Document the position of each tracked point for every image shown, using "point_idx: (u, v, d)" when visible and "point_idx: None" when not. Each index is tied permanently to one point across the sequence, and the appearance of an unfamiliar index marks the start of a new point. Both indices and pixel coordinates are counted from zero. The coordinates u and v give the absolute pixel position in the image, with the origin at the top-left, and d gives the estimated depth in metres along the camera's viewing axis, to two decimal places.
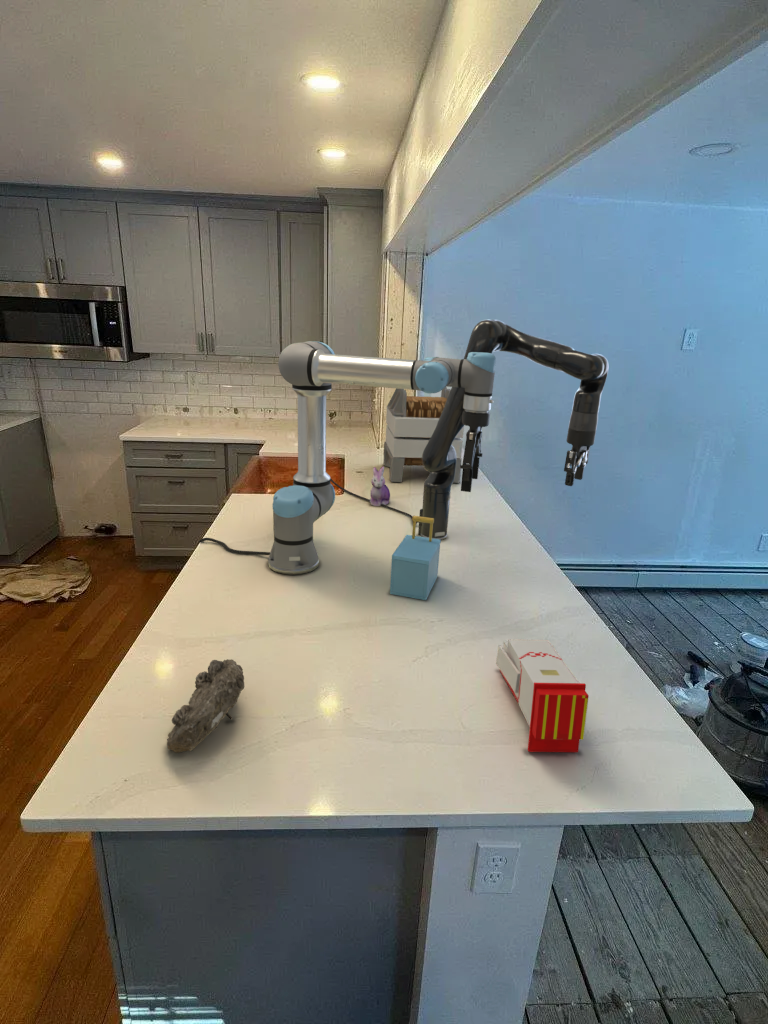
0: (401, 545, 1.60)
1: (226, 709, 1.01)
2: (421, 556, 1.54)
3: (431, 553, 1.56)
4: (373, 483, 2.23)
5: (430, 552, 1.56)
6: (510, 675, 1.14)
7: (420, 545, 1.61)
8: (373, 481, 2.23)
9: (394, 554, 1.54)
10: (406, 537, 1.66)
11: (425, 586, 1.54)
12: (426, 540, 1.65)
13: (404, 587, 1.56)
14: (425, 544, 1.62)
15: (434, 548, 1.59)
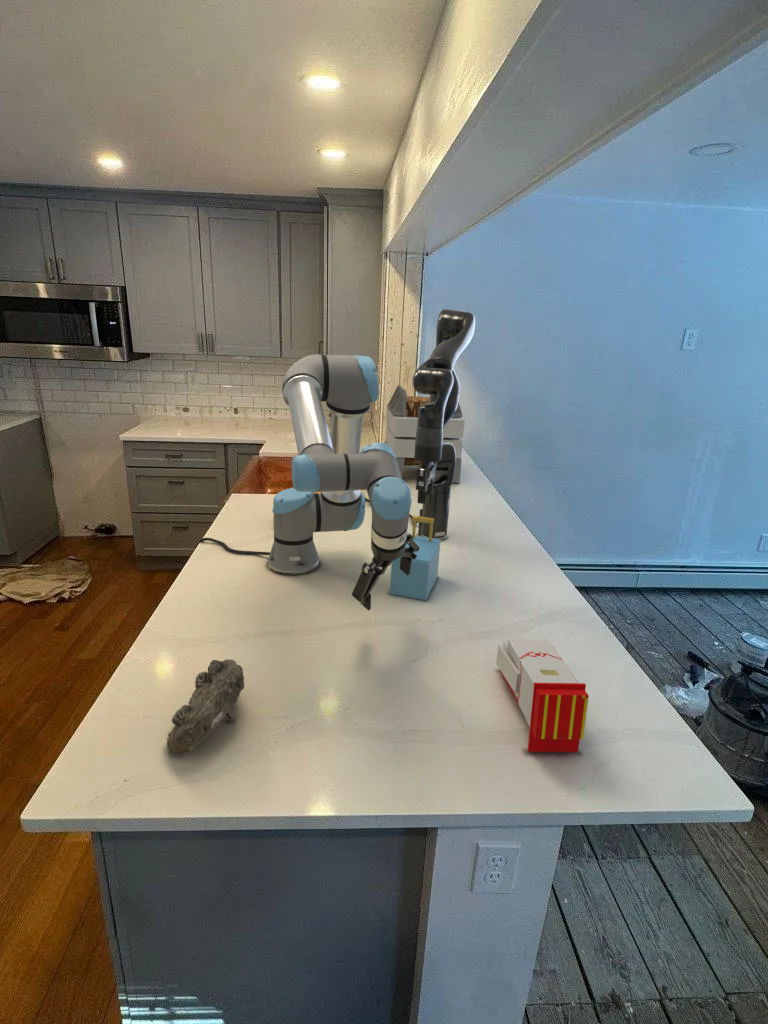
0: None
1: (226, 709, 1.01)
2: (421, 556, 1.54)
3: (431, 553, 1.56)
4: None
5: (430, 552, 1.56)
6: (510, 675, 1.14)
7: (420, 545, 1.61)
8: None
9: None
10: None
11: (425, 586, 1.54)
12: (426, 540, 1.65)
13: (404, 587, 1.56)
14: (425, 544, 1.62)
15: (434, 548, 1.59)
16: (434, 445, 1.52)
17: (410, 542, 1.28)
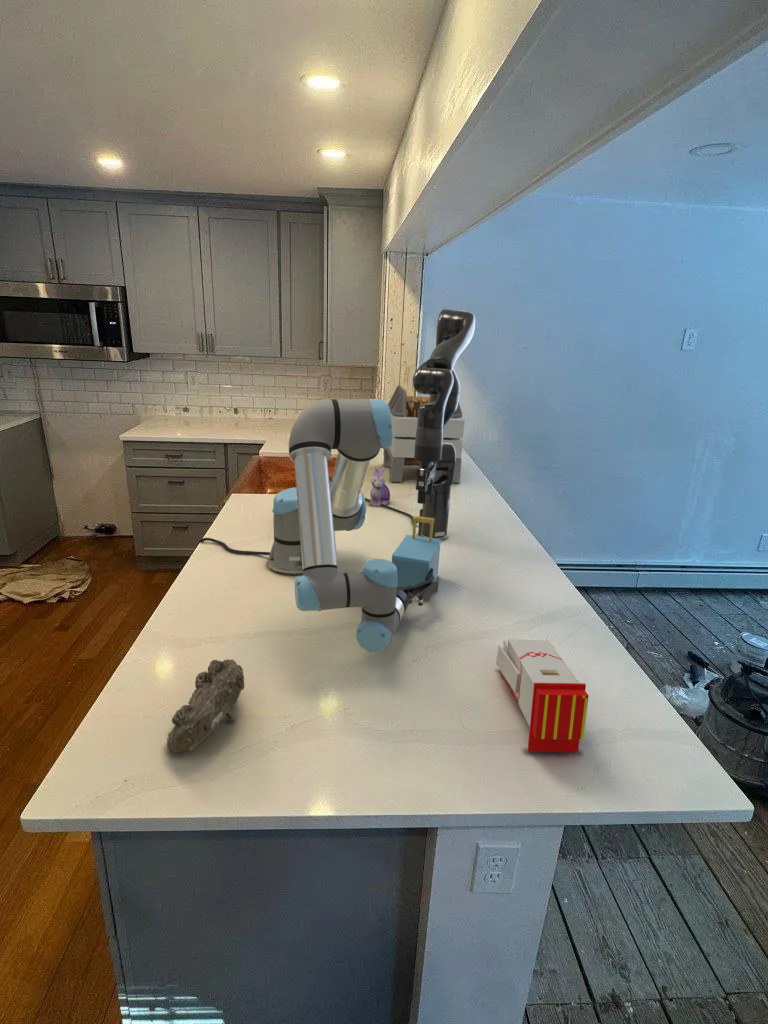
0: (401, 545, 1.60)
1: (226, 709, 1.01)
2: (421, 556, 1.54)
3: (431, 553, 1.56)
4: (373, 483, 2.23)
5: (430, 552, 1.56)
6: (510, 675, 1.14)
7: (421, 545, 1.61)
8: (373, 481, 2.23)
9: (394, 554, 1.54)
10: (406, 537, 1.66)
11: None
12: (426, 540, 1.65)
13: None
14: (425, 544, 1.62)
15: (434, 548, 1.59)
16: (434, 445, 1.52)
17: None
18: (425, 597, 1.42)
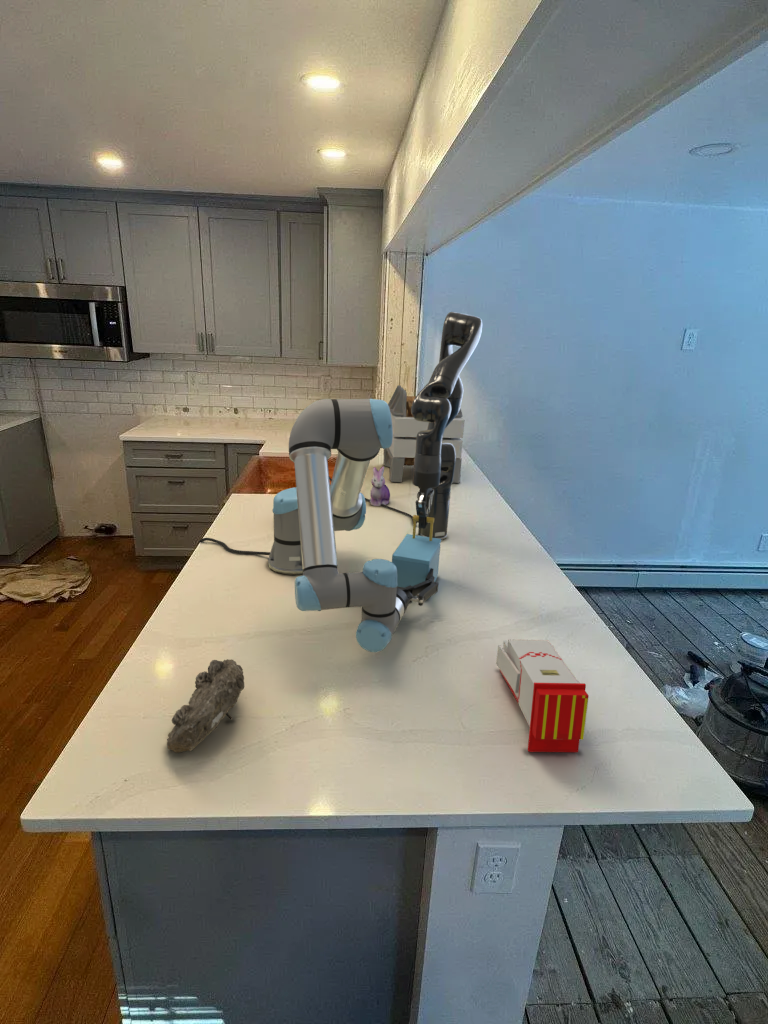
0: (401, 545, 1.60)
1: (226, 709, 1.01)
2: (421, 556, 1.54)
3: (431, 553, 1.56)
4: (373, 483, 2.23)
5: (430, 552, 1.56)
6: (510, 675, 1.14)
7: (421, 544, 1.61)
8: (373, 481, 2.23)
9: (394, 554, 1.54)
10: (406, 536, 1.66)
11: None
12: (426, 539, 1.65)
13: None
14: (425, 543, 1.62)
15: (434, 548, 1.59)
16: (432, 472, 1.54)
17: None
18: (425, 597, 1.42)
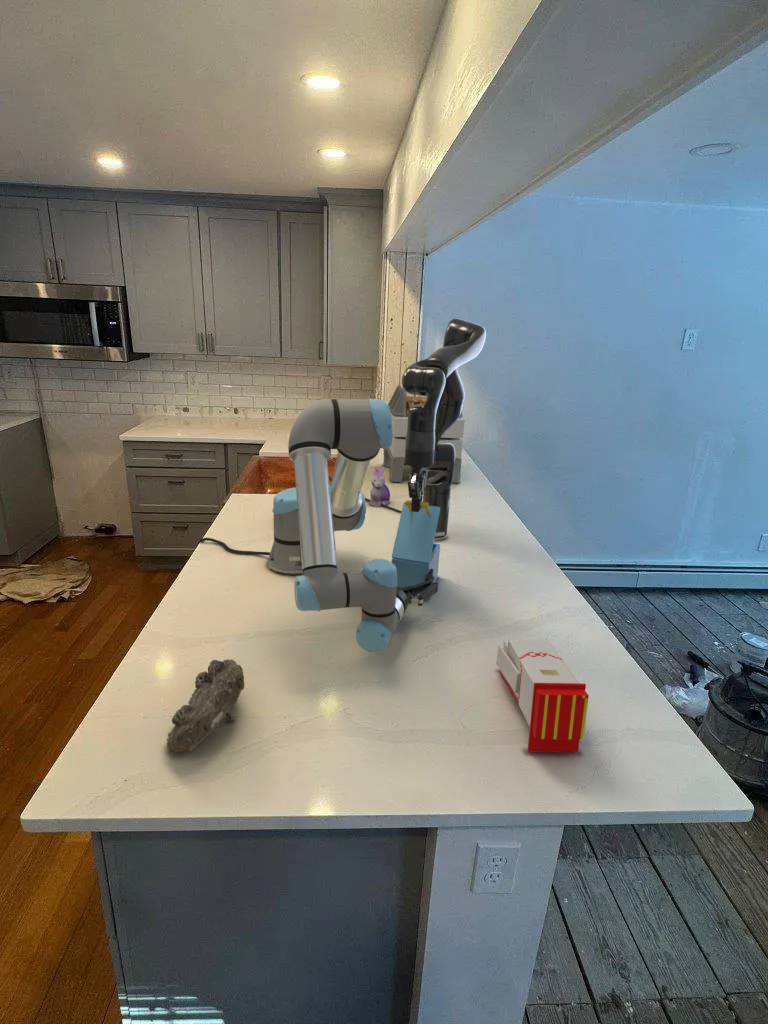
0: (399, 531, 1.55)
1: (226, 709, 1.01)
2: (421, 553, 1.52)
3: (430, 543, 1.52)
4: (373, 483, 2.23)
5: (429, 542, 1.53)
6: (510, 675, 1.14)
7: (419, 526, 1.55)
8: (373, 481, 2.23)
9: (394, 554, 1.53)
10: (403, 509, 1.57)
11: None
12: (424, 512, 1.56)
13: (404, 587, 1.56)
14: (424, 523, 1.55)
15: (433, 530, 1.54)
16: (425, 450, 1.42)
17: None
18: (425, 597, 1.42)
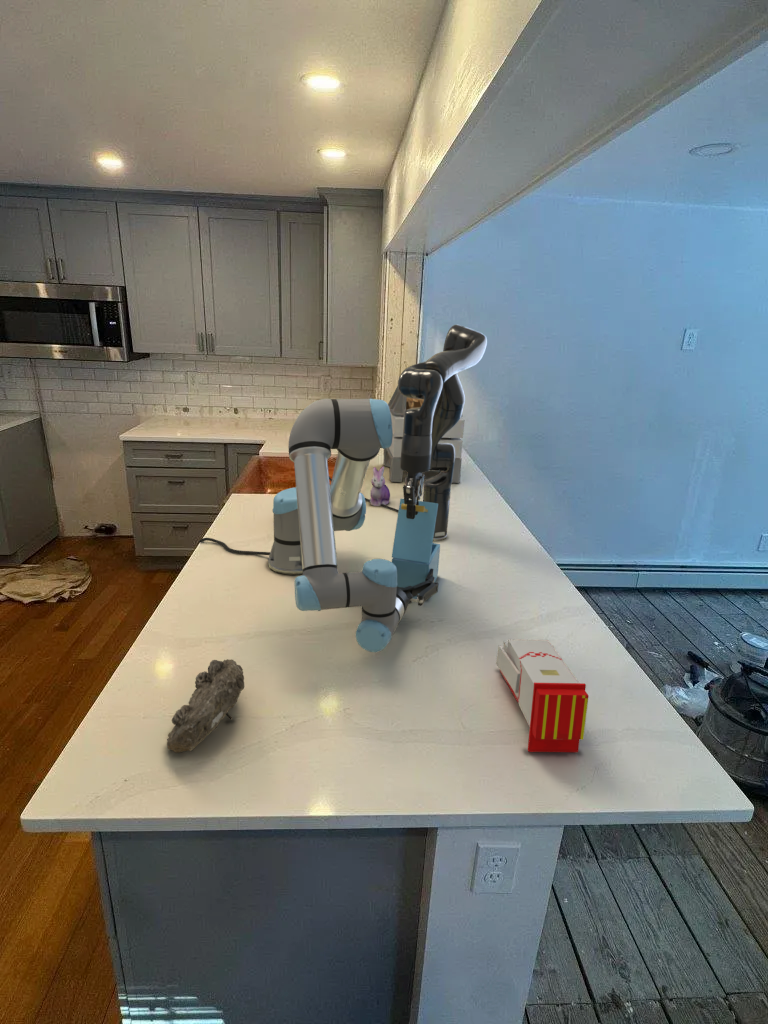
0: (398, 530, 1.53)
1: (226, 709, 1.01)
2: (420, 553, 1.51)
3: (430, 543, 1.51)
4: (373, 483, 2.23)
5: (428, 541, 1.51)
6: (510, 675, 1.14)
7: (417, 524, 1.52)
8: (373, 481, 2.23)
9: (393, 554, 1.53)
10: (400, 507, 1.54)
11: None
12: None
13: (404, 587, 1.56)
14: (422, 521, 1.52)
15: (432, 529, 1.51)
16: (422, 454, 1.38)
17: None
18: (425, 597, 1.42)
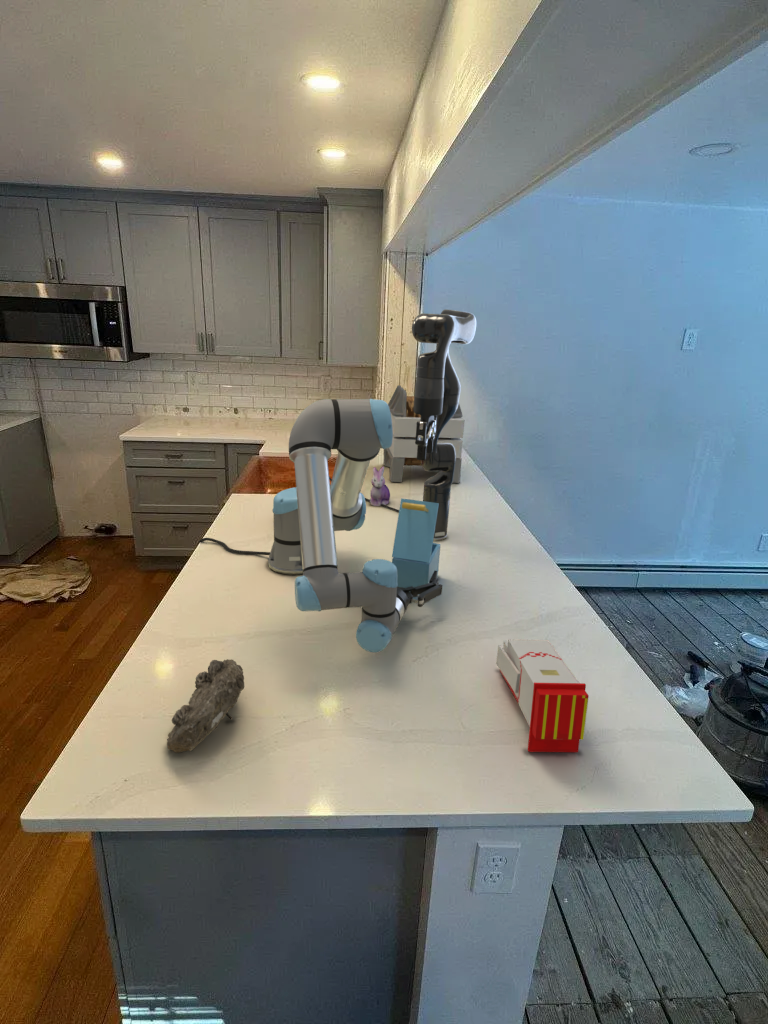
0: (398, 529, 1.54)
1: (226, 709, 1.01)
2: (420, 552, 1.52)
3: (430, 543, 1.51)
4: (373, 483, 2.23)
5: (429, 541, 1.51)
6: (510, 675, 1.14)
7: (418, 524, 1.53)
8: (373, 481, 2.23)
9: (394, 554, 1.53)
10: (401, 506, 1.54)
11: None
12: None
13: (405, 587, 1.56)
14: (422, 520, 1.52)
15: (432, 529, 1.52)
16: (434, 397, 1.43)
17: None
18: (426, 599, 1.41)
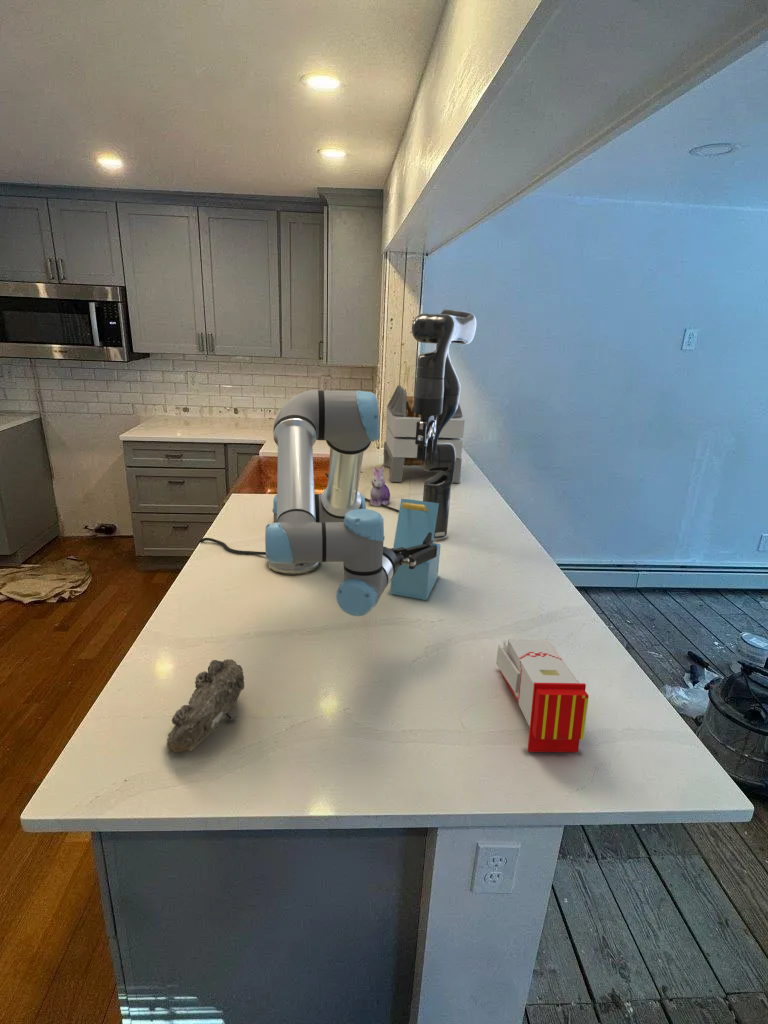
0: (398, 529, 1.54)
1: (226, 709, 1.01)
2: None
3: None
4: (373, 483, 2.23)
5: None
6: (510, 675, 1.14)
7: (418, 524, 1.53)
8: (373, 481, 2.23)
9: None
10: (401, 506, 1.54)
11: (426, 586, 1.54)
12: None
13: (405, 587, 1.56)
14: (422, 520, 1.52)
15: (432, 529, 1.52)
16: (434, 397, 1.43)
17: None
18: (418, 560, 1.25)
